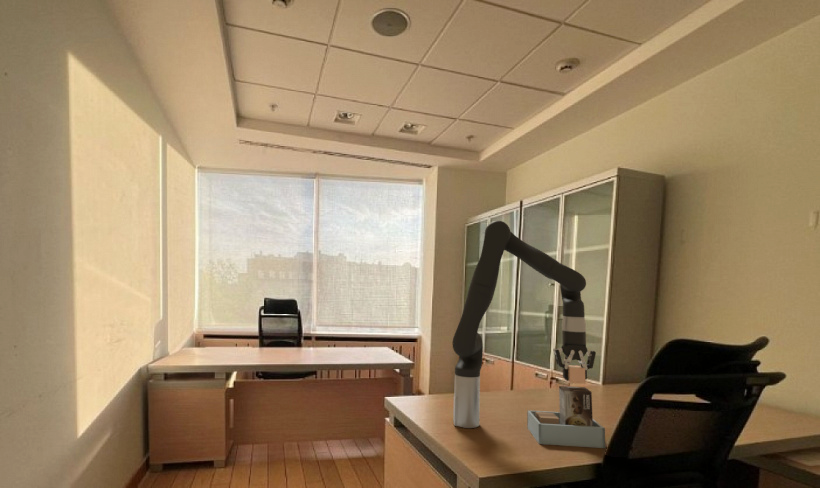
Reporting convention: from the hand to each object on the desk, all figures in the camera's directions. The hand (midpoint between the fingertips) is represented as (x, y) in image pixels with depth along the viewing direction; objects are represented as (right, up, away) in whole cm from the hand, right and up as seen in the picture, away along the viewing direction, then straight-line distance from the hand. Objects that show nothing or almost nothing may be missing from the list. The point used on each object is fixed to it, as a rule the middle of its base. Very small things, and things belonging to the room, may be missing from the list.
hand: (574, 380), depth 128 cm
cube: (0, -1, 0) cm, 0 cm away
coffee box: (-1, -19, -2) cm, 19 cm away
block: (-10, -18, -2) cm, 20 cm away
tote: (-5, -19, -2) cm, 19 cm away
